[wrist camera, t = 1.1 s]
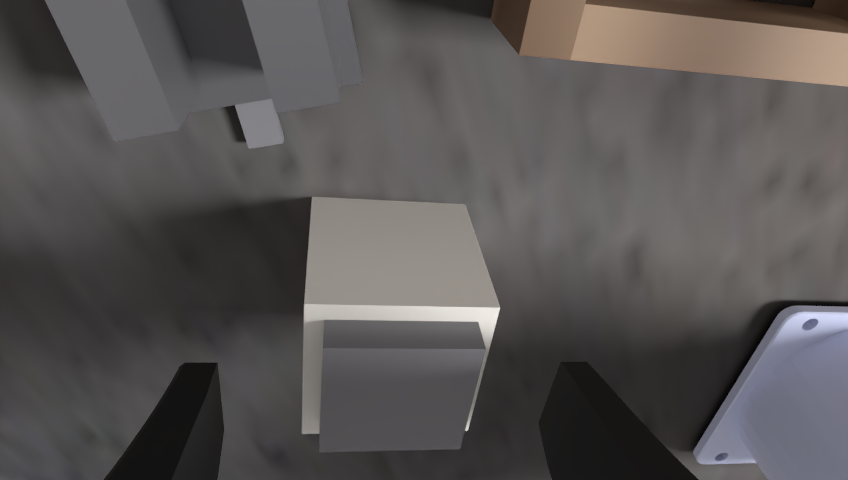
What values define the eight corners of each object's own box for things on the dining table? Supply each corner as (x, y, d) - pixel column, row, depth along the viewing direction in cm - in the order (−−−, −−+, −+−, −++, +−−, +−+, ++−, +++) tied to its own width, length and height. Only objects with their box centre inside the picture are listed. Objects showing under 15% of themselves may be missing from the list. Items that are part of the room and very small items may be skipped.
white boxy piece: (464, 203, 16) (509, 334, 11) (443, 315, 18) (473, 459, 14) (311, 195, 15) (301, 332, 11) (309, 313, 17) (299, 464, 13)
